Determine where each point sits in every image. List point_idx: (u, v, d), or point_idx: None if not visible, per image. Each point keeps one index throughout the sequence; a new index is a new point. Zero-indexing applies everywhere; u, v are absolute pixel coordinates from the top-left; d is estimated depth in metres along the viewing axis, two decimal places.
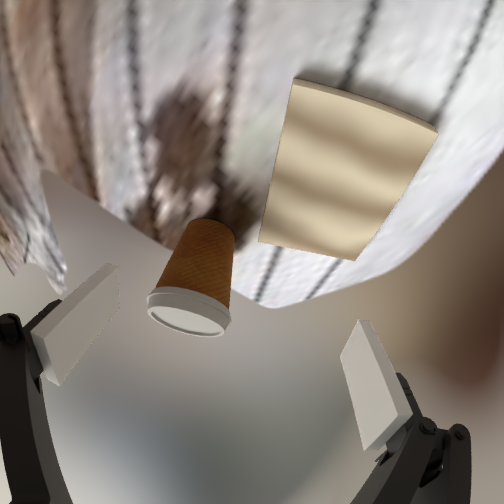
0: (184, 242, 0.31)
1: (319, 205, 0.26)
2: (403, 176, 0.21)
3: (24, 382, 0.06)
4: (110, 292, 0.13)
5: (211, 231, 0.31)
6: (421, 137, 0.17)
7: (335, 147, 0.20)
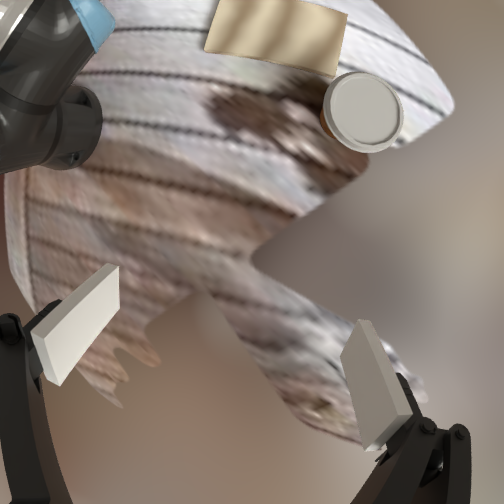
0: (324, 125, 0.33)
1: (288, 34, 0.30)
2: None
3: (24, 382, 0.06)
4: (110, 292, 0.13)
5: None
6: None
7: (241, 28, 0.30)
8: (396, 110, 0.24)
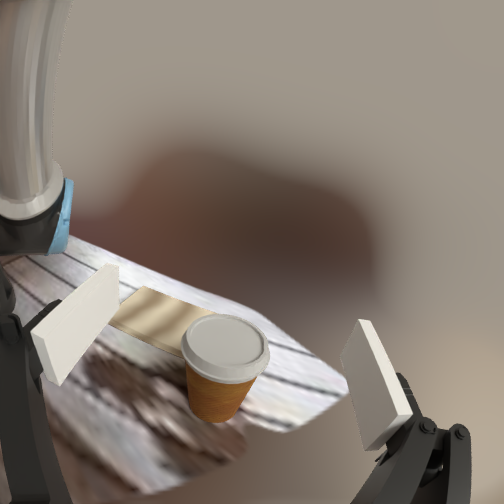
0: (189, 390, 0.29)
1: (178, 326, 0.43)
2: (163, 297, 0.49)
3: (24, 382, 0.06)
4: (110, 292, 0.13)
5: None
6: (143, 290, 0.50)
7: (141, 313, 0.43)
8: (260, 343, 0.29)
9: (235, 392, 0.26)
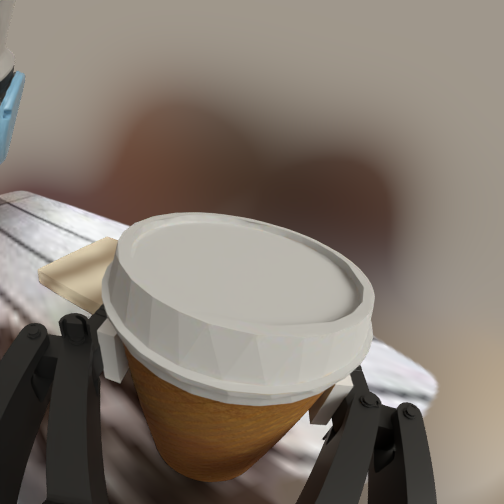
0: None
1: None
2: None
3: (85, 386, 0.07)
4: None
5: None
6: (106, 241, 0.31)
7: (92, 268, 0.25)
8: (340, 273, 0.10)
9: (276, 426, 0.07)
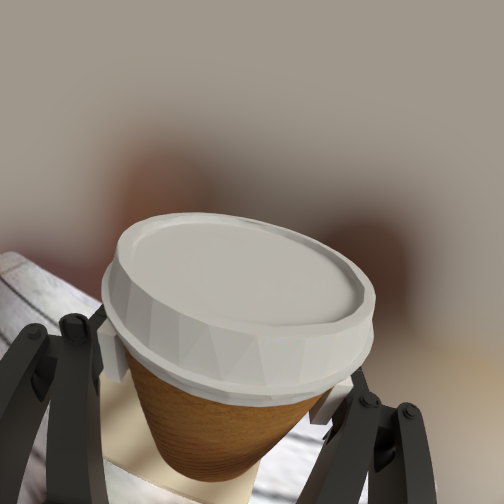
0: None
1: None
2: None
3: (85, 386, 0.07)
4: None
5: None
6: None
7: (113, 416, 0.21)
8: (341, 274, 0.10)
9: (277, 427, 0.07)
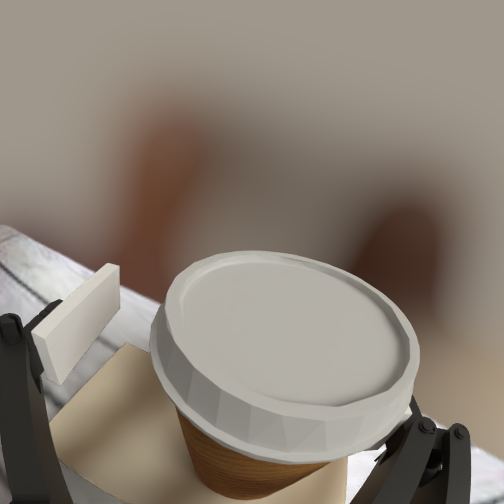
0: None
1: None
2: None
3: (25, 382, 0.06)
4: (111, 292, 0.13)
5: None
6: (127, 355, 0.19)
7: (123, 432, 0.13)
8: (385, 318, 0.09)
9: (322, 465, 0.07)
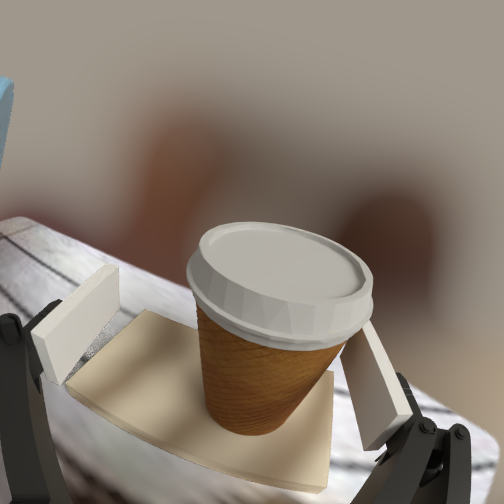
0: (203, 372, 0.16)
1: None
2: (188, 333, 0.24)
3: (24, 382, 0.06)
4: (110, 292, 0.13)
5: None
6: (146, 318, 0.25)
7: (143, 376, 0.18)
8: (353, 270, 0.14)
9: (300, 374, 0.12)
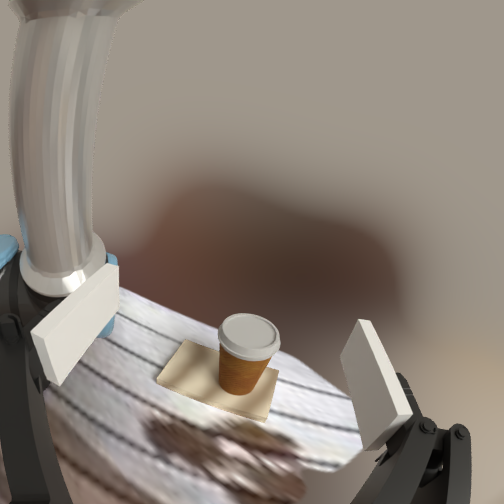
0: (219, 368, 0.42)
1: None
2: (208, 351, 0.50)
3: (24, 382, 0.06)
4: (110, 292, 0.13)
5: None
6: (187, 344, 0.50)
7: (191, 372, 0.44)
8: (274, 335, 0.40)
9: (252, 368, 0.38)
